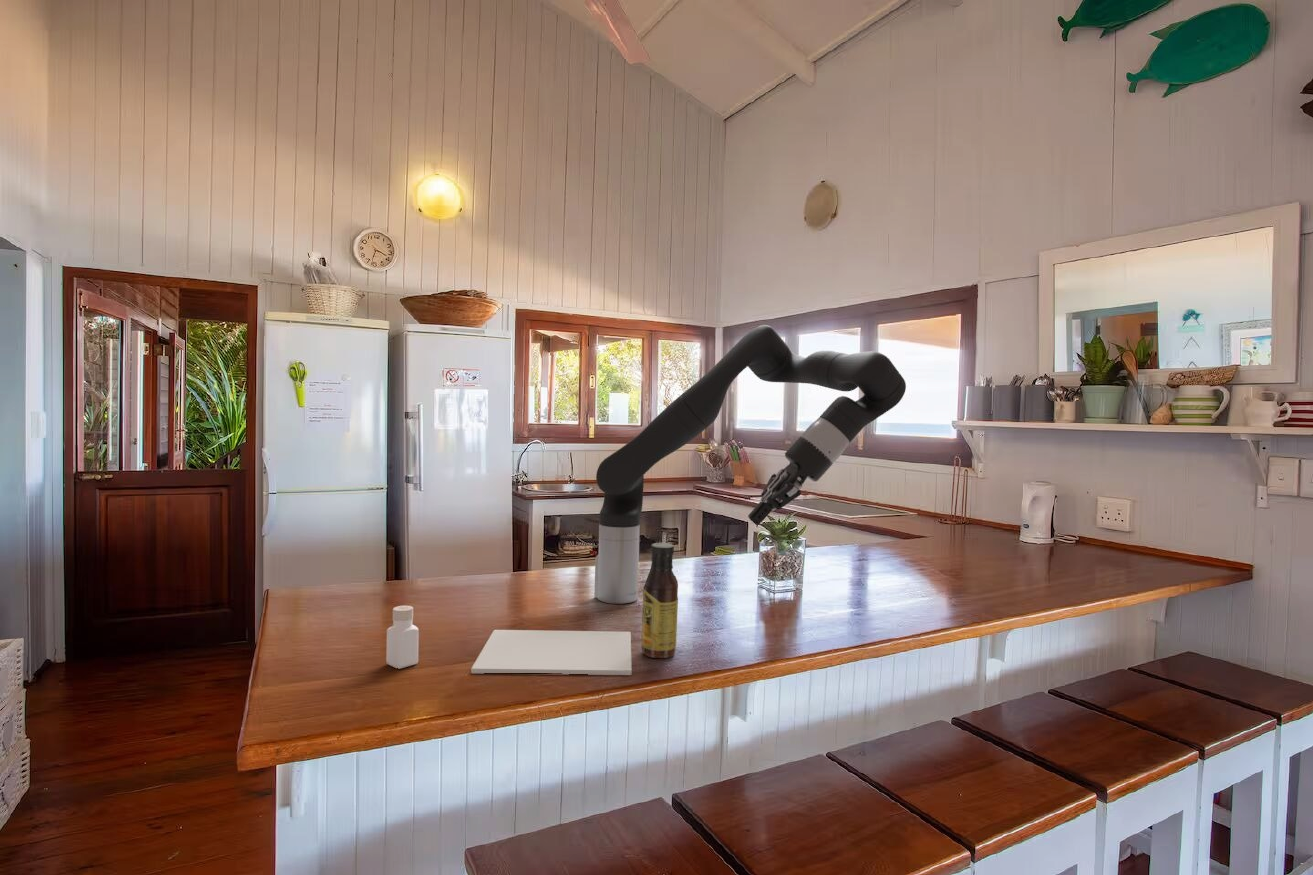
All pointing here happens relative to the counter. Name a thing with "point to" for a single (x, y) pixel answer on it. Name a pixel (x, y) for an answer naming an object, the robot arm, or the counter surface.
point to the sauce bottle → (660, 604)
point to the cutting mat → (556, 652)
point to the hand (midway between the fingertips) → (752, 521)
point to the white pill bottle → (402, 639)
